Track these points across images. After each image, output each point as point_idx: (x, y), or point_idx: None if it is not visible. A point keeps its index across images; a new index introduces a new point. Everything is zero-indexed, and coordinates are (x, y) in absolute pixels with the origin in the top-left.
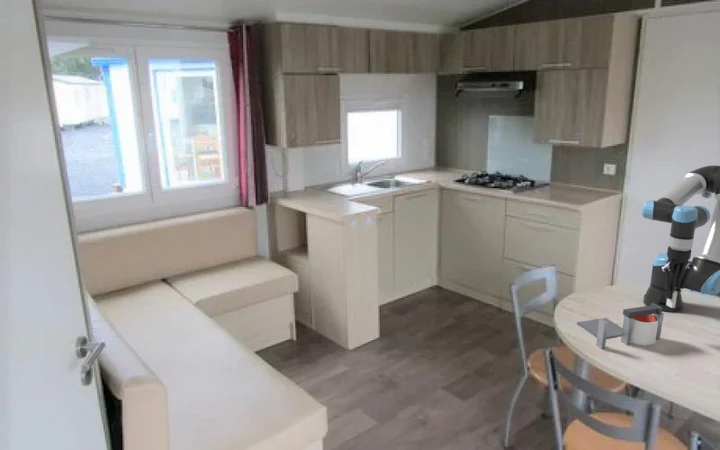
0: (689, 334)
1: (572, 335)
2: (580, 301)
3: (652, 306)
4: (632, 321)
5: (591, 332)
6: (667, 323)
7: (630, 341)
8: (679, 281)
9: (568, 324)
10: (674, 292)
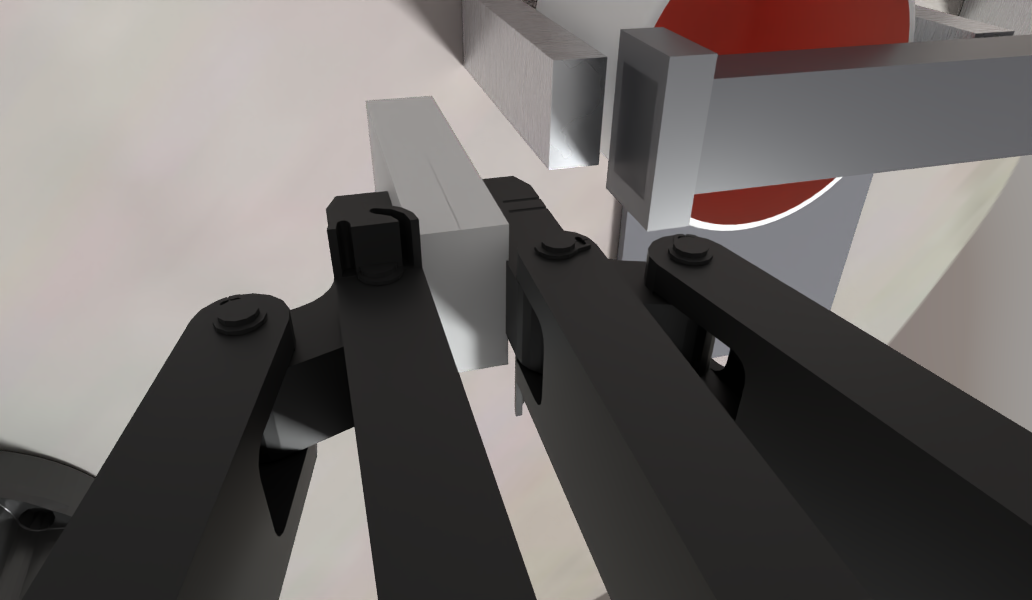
0: (51, 8)
1: (965, 197)
2: (569, 570)
3: (716, 156)
4: (946, 24)
5: (864, 201)
6: (157, 261)
7: (734, 15)
8: (439, 439)
9: (862, 327)
10: (497, 220)
